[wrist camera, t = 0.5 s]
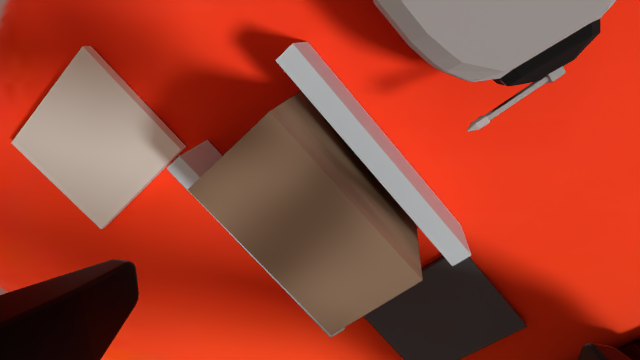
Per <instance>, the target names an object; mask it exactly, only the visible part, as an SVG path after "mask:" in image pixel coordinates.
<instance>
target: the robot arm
mask: <svg viewBox="0 0 640 360" xmlns="http://www.w3.org/2000/svg"><path fill="white" fill-rule="evenodd" d="M138 295H139V291H138V283H137V274H136V267H135V265H134V263H132V262H130V261H125V260H120V259H113V260H109V261H106V262H103V263H100V264H97V265H94V266H90V267H87V268H84V269H81V270H78V271H75V272H72V273H68V274H65V275H62V276H59V277H56V278H53V279H50V280H47V281H43V282H40V283H37V284H34V285H31V286H28V287H25V288H21V289H18V290H15V291H12V292H9V293H6V294H3V295H0V360H101V358H102V357H103V355H104V354H105V352H106V350H107V349H108V347H109V346H110V344H111V343H112V341H113V340H114V338H115V336H116V335H117V333H118V332H119V330H120V329H121V327H122V326H123V324H124V322H125V321H126V319H127V318H128V316H129V315H130V313H131V311H132V310H133V308H134V307H135V305H136V303H137V300H138ZM578 360H640V339H638V340H635V341H633V342H631V343H628V344H626V345H624V346H621V347H619V348H617V349H616V348H614V347H612V346H608V345H602V344H597V343H587V344H585V345H584V346H583V348H582V350H581V353H580V356H579V358H578Z"/></svg>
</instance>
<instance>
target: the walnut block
mask: <svg viewBox="0 0 640 360" xmlns="http://www.w3.org/2000/svg"><path fill="white" fill-rule="evenodd" d="M188 191H189V192H190V193H191V194H192V195H193V196H194V197H195V198H196V199H197V200H198V201H199V202H200V203H201V204H202V205H203V206H204V207H205V208H206V209H207V210H208V211H209V212H210V213H211V214H212V215H213V216H214V217H215V218H216V219H217V220H218V221H219V222H220V223H221V224H222V225H223V226H224V227H225V228H226V229H227V230H228V231H229V232H230V233H231V234H232V235H233V236H234V237H235V238H236V239H237V240H238V241H239V242H240V243H241V244H242V245H243V246H244V247H245V248H246V249H247V250H248V251H249V252H250V253H251V254H252V255H253V256H254V257H255V258H256V259H257V260H258V262H259V263H260V264H261V265H262V266H263V267H264V268H265V269H266V270H267V271H268V272H269V273H270V274H271V275H272V276H273V277H274V278H275V279H276V280H277V281H278V282H279V283H280V284H281V285H282V286H283V287H284V288H285V289H286V290H287V291H288V292H289V293H290V294H291V295H292V296H293V297H294V298H295V299H296V300H297V301H298V302H299V303H300V304H301V305H302V306H303V307H304V308H305V309H306V310H307V311H308V312H309V313H310V314H311V315H312V316H313V317H314V318H315V319H316V320H317V321H318V322H319V323H320V324H321V325H322V326H323V327H324V328H325V329H326V330H327V331H328V332H329V334H330V335H333V334H334V333H336V332H338V331H339V330H341V329H343V328H344V327H346V326H348V325H349V324H351V323H353V322H354V321H356V320H358V319H359V318H361V317H363V316H364V315H366V314H368V313H369V312H371V311H373V310H374V309H376V308H378V307H379V306H381V305H382V304H384V303H386V302H387V301H389V300H391V299H392V298H394V297H396V296H397V295H399V294H401V293H402V292H404V291H406V290H407V289H409V288H411V287H412V286H414V285H416V284H417V283H419V282H421V281H422V280H423V279H422V270H421V262H420V253H419V245H418V236H417V228H416V223H415V222H414V221H413V220H412V219H411V218H410V216H409V215H408V214H407V213H406V212H405V211H404V209H403V208H402V207H401V206H400V205H399V204H398V203H397V201H396V200H395V199H394V198H393V197H392V196H391V194H390V193H389V192H388V191H387V190H386V189H385V187H384V186H383V185H382V184H381V183H380V182H379V180H378V179H377V178H376V177H375V176H374V175H373V173H372V172H371V171H370V170H369V169H368V168H367V166H366V165H365V164H364V163H363V162H362V161H361V159H360V158H359V157H358V156H357V155H356V154H355V153H354V151H353V150H352V149H351V148H350V147H349V146H348V144H347V143H346V142H345V141H344V140H343V139H342V137H341V136H340V135H339V134H338V133H337V132H336V130H335V129H334V128H333V127H332V126H331V125H330V123H329V122H328V121H327V120H326V119H325V118H324V116H323V115H322V114H321V113H320V112H319V111H318V110H317V108H316V107H315V106H314V105H313V104H312V103H311V101H310V100H309V99H308V98H307V97H306V96H305V94H304V93H303V92H302V91H300V92H299V93H297V94H296V95H294V96H292V97H291V98H289V99H288V100H286V101H285V102H283V103H282V104H280V105H278V106H277V107H275V108H274V109H272V110H271V111H269V112H268V113H267V114H266V115H265V116H264V117H263V118H262V119H261V120H260V121H259V122H258V123H257V124H256V125H255V126H254V127H253V128H251V129H250V130H249V131H248V132H247V133H246V134H245V135H244V136H243V137H242V138H241V139H240V140H239V141H238V142H237V143H236V144H235V145H234V146H233V147H232V148H231V149H229V150H228V151H227V152H226V153H225V154H224V155H223V156H222V157H221V158H220V159H219V160H218V161H217V162H216V163H215V164H214V165H213V166H212V167H211V168H210V169H209V170H208V171H206V172H205V173H204V174H203V175H202V176H201V177H200V178H199V179H198V180H197V181H196V182H195V183H194V184H193V185H192V186H191V187H190V188H189V189H188Z"/></svg>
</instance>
